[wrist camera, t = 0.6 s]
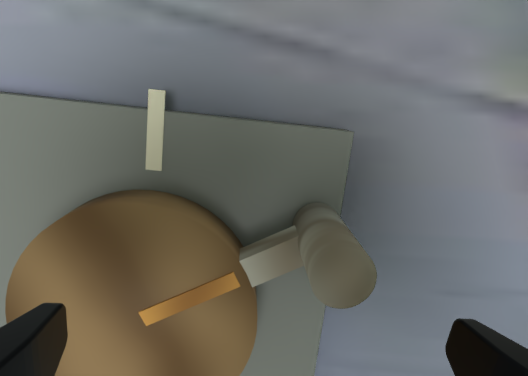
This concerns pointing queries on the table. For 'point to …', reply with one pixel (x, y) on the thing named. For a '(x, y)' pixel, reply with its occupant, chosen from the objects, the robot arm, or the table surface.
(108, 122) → the slate base
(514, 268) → the table surface
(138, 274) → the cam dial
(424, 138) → the table surface
